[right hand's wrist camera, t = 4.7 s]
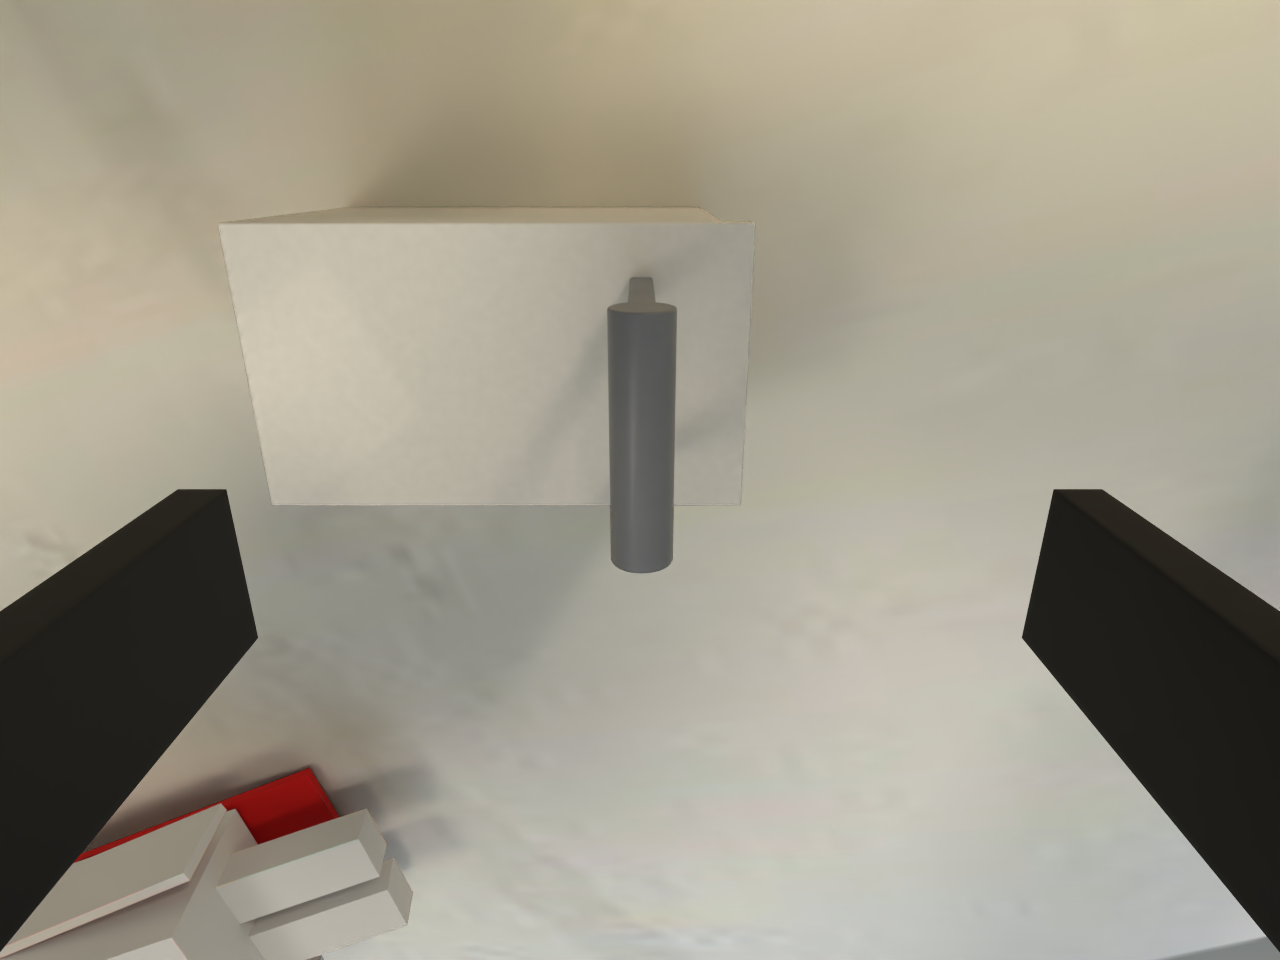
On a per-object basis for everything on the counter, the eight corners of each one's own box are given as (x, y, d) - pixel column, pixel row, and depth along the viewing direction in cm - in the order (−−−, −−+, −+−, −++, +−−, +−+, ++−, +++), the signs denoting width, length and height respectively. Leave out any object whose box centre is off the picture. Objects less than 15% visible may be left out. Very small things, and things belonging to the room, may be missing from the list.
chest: (699, 207, 33) (723, 220, 24) (694, 413, 36) (713, 496, 27) (345, 207, 33) (231, 221, 24) (373, 413, 36) (282, 496, 27)
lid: (752, 220, 24) (806, 244, 16) (738, 496, 27) (777, 623, 19) (230, 221, 23) (36, 244, 16) (281, 496, 27) (142, 624, 19)
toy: (415, 1044, 38) (-183, 1250, 37) (443, 837, 50) (-2, 988, 50) (307, 866, 34) (-369, 1095, 33) (368, 689, 46) (-121, 851, 45)
